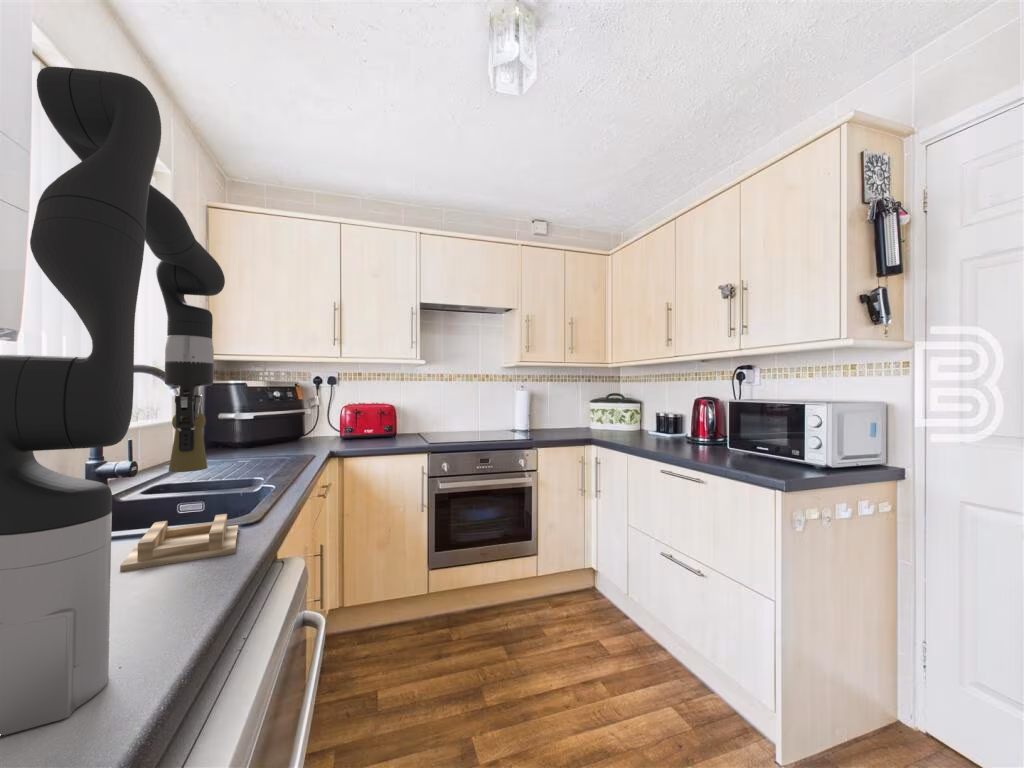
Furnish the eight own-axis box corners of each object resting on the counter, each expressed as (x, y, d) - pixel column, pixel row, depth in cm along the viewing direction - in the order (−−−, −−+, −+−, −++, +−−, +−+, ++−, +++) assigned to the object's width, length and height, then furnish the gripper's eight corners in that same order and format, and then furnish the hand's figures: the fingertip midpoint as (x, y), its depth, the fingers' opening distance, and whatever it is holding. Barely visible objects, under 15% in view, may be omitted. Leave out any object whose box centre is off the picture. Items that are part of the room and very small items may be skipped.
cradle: (234, 553, 80) (234, 531, 80) (120, 571, 71) (120, 547, 72) (238, 529, 93) (238, 511, 93) (142, 542, 85) (143, 522, 85)
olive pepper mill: (178, 467, 85) (179, 411, 85) (213, 466, 86) (213, 411, 86) (161, 472, 79) (162, 413, 79) (198, 471, 80) (199, 412, 81)
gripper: (209, 359, 79) (208, 452, 78) (216, 364, 91) (215, 444, 91) (157, 357, 75) (155, 455, 75) (172, 362, 87) (170, 447, 87)
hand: (188, 449), depth 83 cm, fingers closed on olive pepper mill, 4 cm apart
